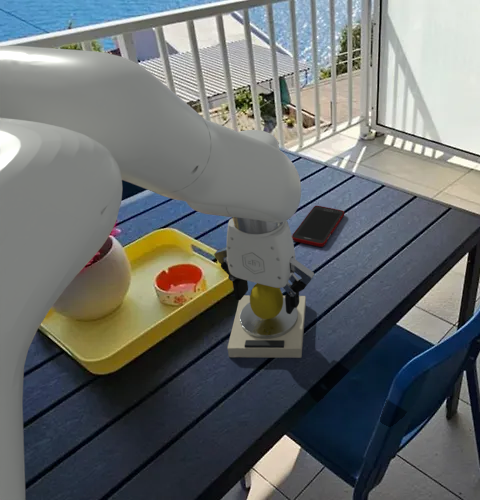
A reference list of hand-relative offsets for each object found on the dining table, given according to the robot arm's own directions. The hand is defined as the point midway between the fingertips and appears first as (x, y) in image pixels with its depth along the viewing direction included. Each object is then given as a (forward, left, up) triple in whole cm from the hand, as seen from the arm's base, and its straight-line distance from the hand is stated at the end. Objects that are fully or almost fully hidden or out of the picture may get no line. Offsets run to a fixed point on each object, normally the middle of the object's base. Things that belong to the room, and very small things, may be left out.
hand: (266, 301), depth 84 cm
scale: (0, 0, -7) cm, 7 cm away
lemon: (0, 0, -4) cm, 4 cm away
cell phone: (+33, +4, -7) cm, 34 cm away
